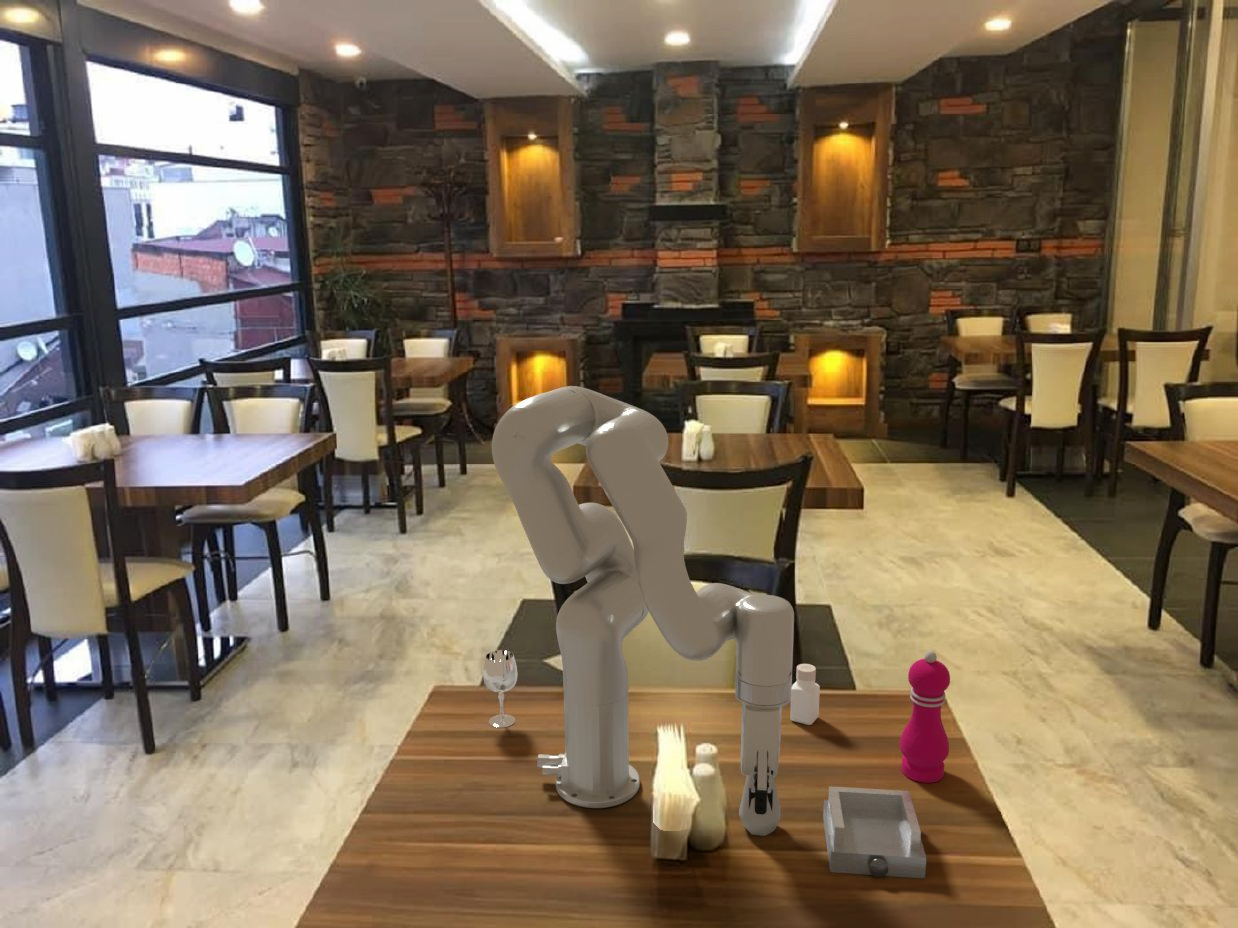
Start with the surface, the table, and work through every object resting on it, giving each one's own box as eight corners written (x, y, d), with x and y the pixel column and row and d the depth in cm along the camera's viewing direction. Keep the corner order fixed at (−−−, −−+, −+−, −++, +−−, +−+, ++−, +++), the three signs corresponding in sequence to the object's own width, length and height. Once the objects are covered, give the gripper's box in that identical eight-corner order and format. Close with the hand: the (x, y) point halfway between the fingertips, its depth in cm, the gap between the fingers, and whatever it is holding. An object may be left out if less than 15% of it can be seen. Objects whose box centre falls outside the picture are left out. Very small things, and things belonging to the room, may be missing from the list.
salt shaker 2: (819, 717, 171) (821, 665, 168) (811, 727, 167) (813, 674, 165) (797, 711, 173) (799, 660, 170) (788, 721, 169) (790, 669, 167)
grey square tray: (830, 875, 130) (832, 838, 128) (823, 818, 142) (824, 783, 141) (926, 882, 128) (928, 844, 127) (910, 823, 141) (912, 788, 139)
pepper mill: (909, 754, 158) (917, 637, 154) (954, 770, 154) (963, 649, 149) (890, 774, 153) (897, 653, 148) (935, 790, 149) (945, 666, 144)
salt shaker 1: (779, 842, 137) (781, 756, 134) (737, 837, 138) (738, 752, 135) (781, 817, 142) (784, 734, 139) (740, 813, 143) (742, 730, 140)
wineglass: (482, 715, 172) (479, 651, 169) (515, 710, 174) (512, 646, 171) (488, 731, 167) (485, 665, 164) (522, 726, 168) (519, 660, 166)
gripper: (735, 659, 143) (733, 774, 148) (734, 714, 128) (732, 841, 132) (788, 661, 142) (785, 777, 147) (794, 717, 127) (789, 845, 131)
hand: (760, 806), depth 139 cm, fingers closed on salt shaker 1, 3 cm apart
